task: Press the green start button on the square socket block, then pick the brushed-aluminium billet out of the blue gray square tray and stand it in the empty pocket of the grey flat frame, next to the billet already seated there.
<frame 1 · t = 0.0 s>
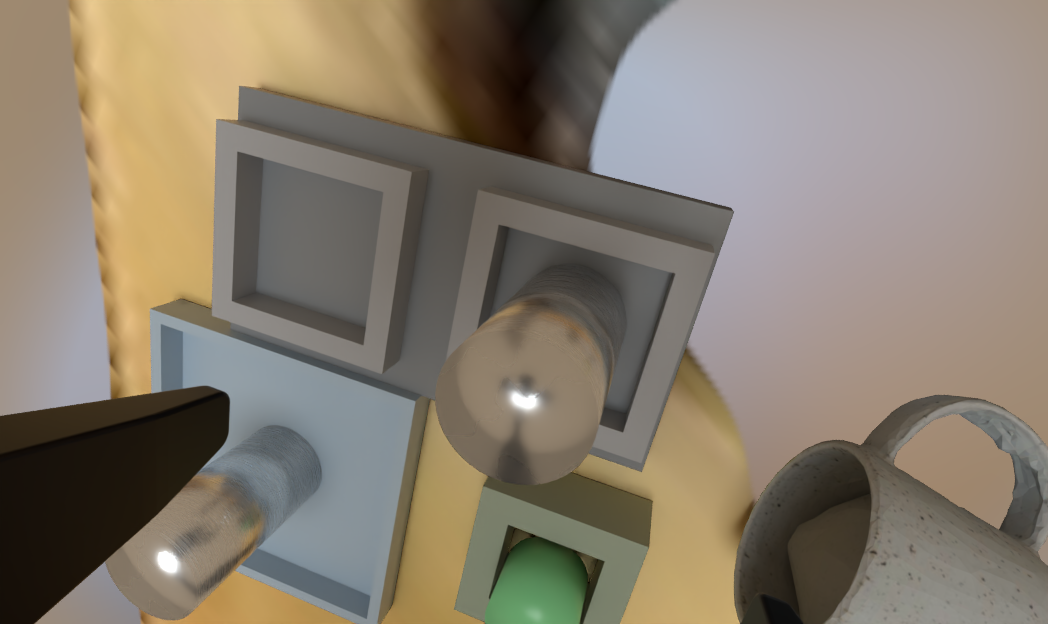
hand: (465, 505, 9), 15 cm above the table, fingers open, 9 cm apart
seated billet: (570, 319, 22), point 1 cm above the table, touching grey flat frame
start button: (538, 598, 23), point 4 cm above the table, slide at 0.0 cm
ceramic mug: (876, 495, 22), on the table
blue gray square tray: (290, 458, 29), on the table
billet: (284, 463, 29), resting on blue gray square tray
grey flat frame: (452, 273, 24), on the table
square socket block: (558, 534, 26), on the table
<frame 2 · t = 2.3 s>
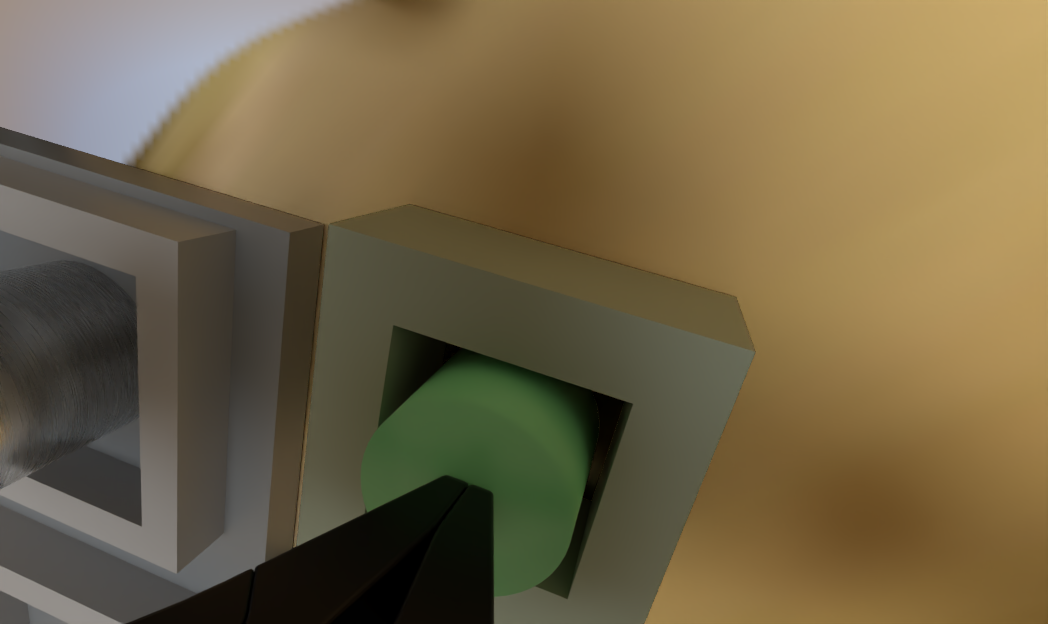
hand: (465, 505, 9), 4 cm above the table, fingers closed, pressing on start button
seated billet: (88, 345, 14), point 1 cm above the table, touching grey flat frame
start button: (491, 454, 10), point 3 cm above the table, slide at 1.4 cm, touching gripper
grey flat frame: (136, 491, 17), on the table
square socket block: (526, 395, 13), on the table
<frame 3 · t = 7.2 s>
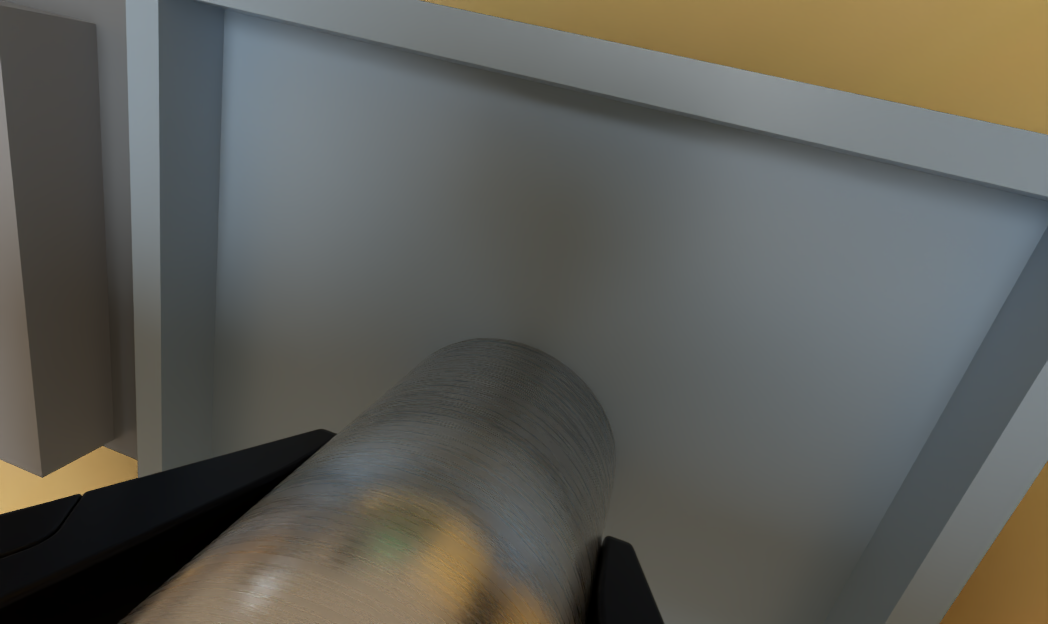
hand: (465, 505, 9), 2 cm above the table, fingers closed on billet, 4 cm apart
blue gray square tray: (507, 434, 11), on the table
billet: (499, 447, 11), resting on blue gray square tray, touching gripper
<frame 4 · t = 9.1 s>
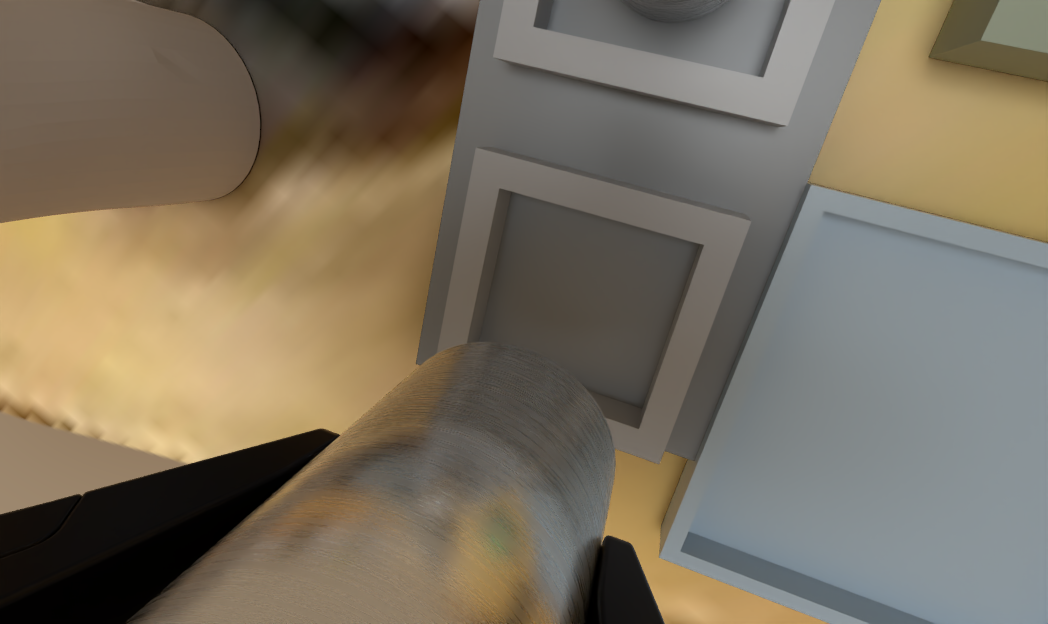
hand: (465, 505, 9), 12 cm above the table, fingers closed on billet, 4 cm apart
candle: (124, 89, 23), on the table
blue gray square tray: (931, 441, 19), on the table
billet: (498, 451, 11), point 11 cm above the table, touching gripper
grey flat frame: (628, 137, 18), on the table
when the fingers open (4 cm above the table, at t = 11.4 s): billet drops 1 cm, resting on grey flat frame.
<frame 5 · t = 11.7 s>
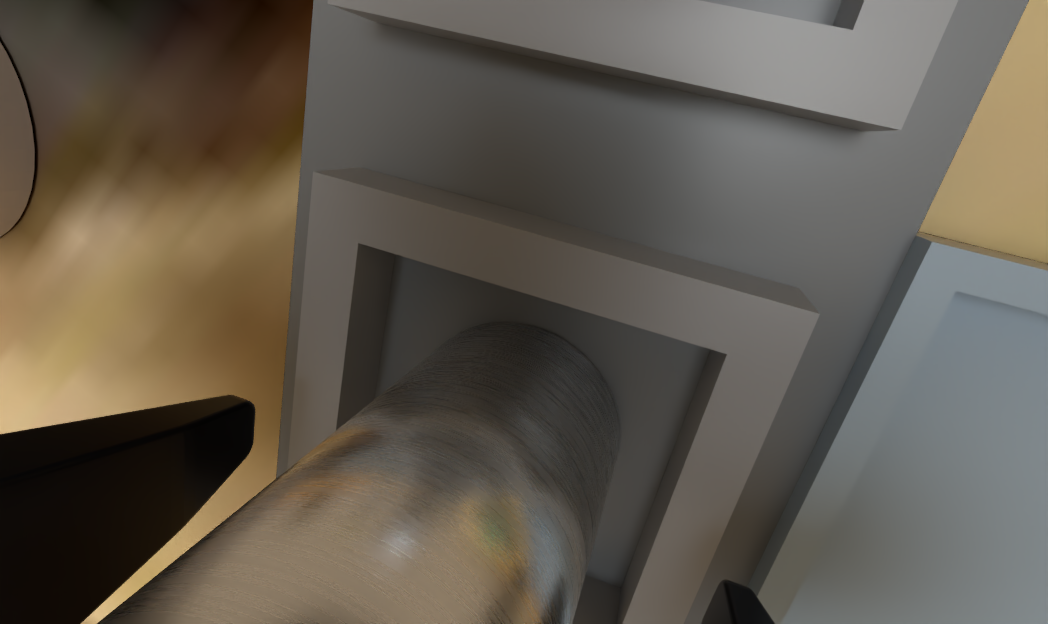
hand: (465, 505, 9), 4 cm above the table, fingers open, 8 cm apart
billet: (514, 422, 12), point 1 cm above the table, touching grey flat frame
grey flat frame: (591, 150, 11), on the table
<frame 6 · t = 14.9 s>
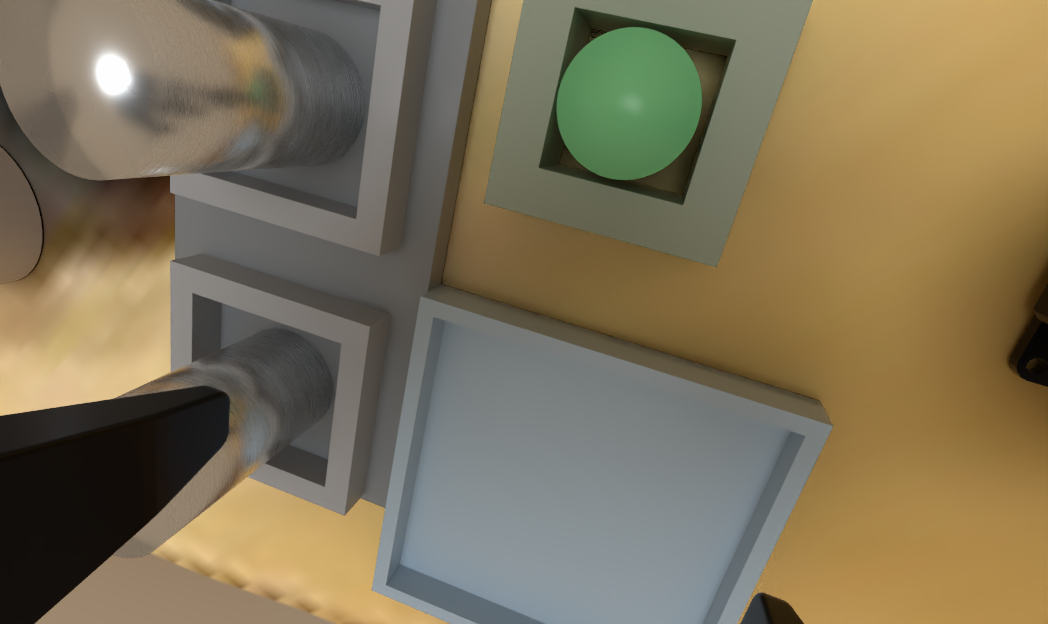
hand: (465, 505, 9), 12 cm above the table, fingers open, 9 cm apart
seated billet: (307, 99, 19), point 1 cm above the table, touching grey flat frame
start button: (631, 109, 15), point 3 cm above the table, slide at 1.5 cm
blue gray square tray: (570, 494, 22), on the table
billet: (285, 378, 23), point 1 cm above the table, touching grey flat frame
grey flat frame: (314, 245, 22), on the table
square socket block: (638, 113, 18), on the table
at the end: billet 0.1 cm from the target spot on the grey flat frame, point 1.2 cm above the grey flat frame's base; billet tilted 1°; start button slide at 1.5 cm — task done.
